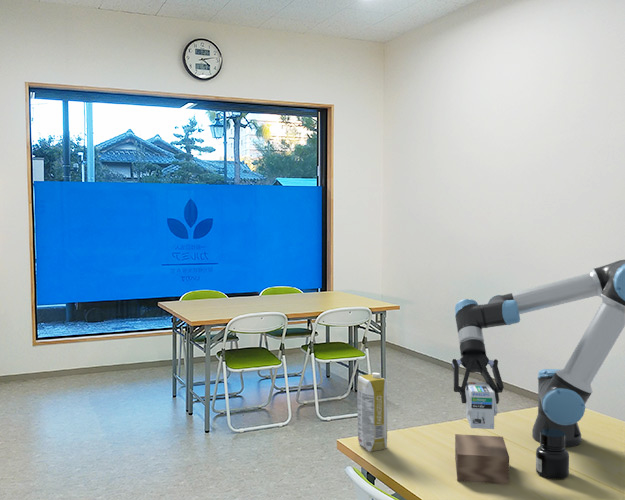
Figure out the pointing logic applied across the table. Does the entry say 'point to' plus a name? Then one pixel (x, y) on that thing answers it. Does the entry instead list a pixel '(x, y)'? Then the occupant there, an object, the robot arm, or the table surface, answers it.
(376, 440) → the juice carton
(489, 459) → the walnut block
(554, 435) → the ink bottle
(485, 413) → the light bulb box
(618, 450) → the table surface
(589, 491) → the table surface
